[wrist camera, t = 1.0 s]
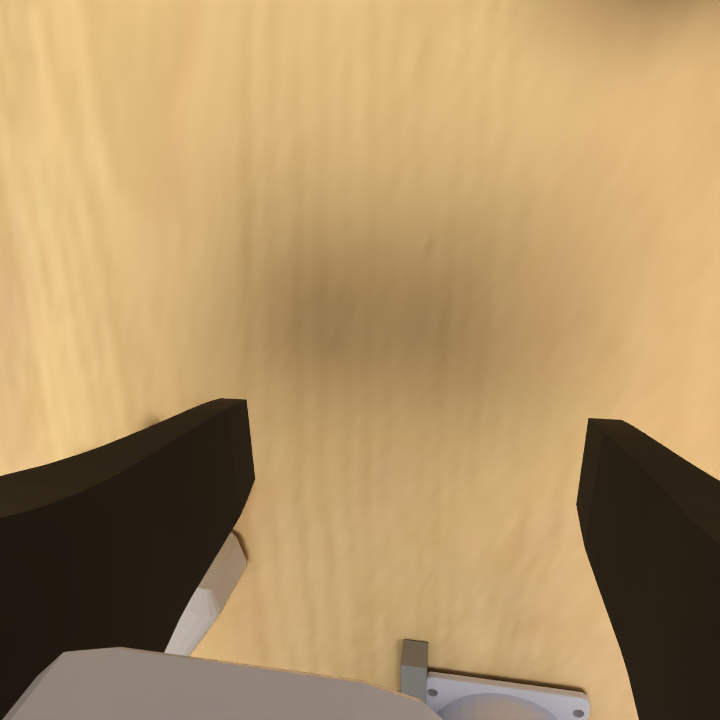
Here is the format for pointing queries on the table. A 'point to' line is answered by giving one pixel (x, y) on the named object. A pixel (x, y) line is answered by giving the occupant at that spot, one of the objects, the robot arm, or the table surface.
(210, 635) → the table surface
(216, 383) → the table surface
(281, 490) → the table surface
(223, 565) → the charger
